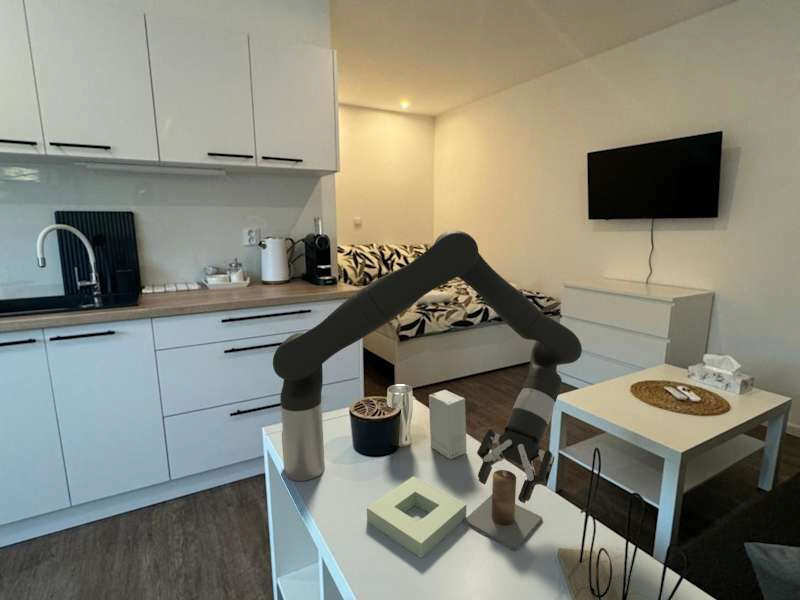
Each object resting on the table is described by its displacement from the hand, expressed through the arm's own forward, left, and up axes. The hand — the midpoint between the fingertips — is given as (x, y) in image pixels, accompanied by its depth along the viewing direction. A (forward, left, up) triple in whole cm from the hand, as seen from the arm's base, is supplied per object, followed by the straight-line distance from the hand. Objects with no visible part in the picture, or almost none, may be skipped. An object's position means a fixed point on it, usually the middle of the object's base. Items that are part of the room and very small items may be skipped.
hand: (500, 491), depth 81 cm
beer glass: (-36, +10, -7) cm, 38 cm away
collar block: (-13, -10, -7) cm, 18 cm away
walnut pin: (0, +1, -7) cm, 7 cm away
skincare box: (-24, +15, -7) cm, 29 cm away
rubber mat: (0, +1, -7) cm, 7 cm away
